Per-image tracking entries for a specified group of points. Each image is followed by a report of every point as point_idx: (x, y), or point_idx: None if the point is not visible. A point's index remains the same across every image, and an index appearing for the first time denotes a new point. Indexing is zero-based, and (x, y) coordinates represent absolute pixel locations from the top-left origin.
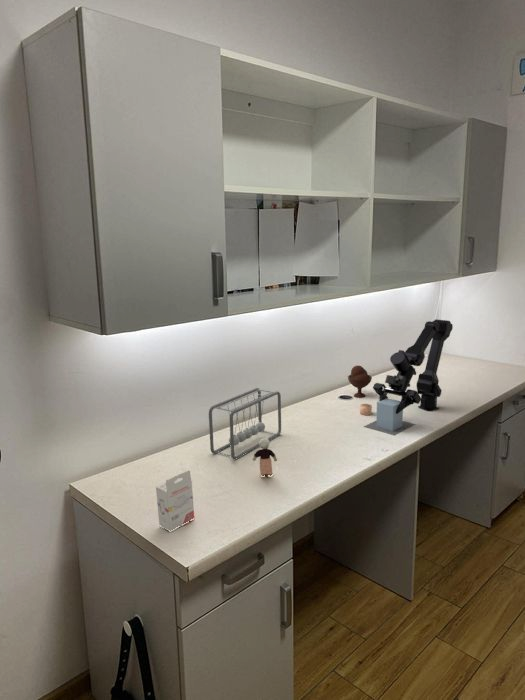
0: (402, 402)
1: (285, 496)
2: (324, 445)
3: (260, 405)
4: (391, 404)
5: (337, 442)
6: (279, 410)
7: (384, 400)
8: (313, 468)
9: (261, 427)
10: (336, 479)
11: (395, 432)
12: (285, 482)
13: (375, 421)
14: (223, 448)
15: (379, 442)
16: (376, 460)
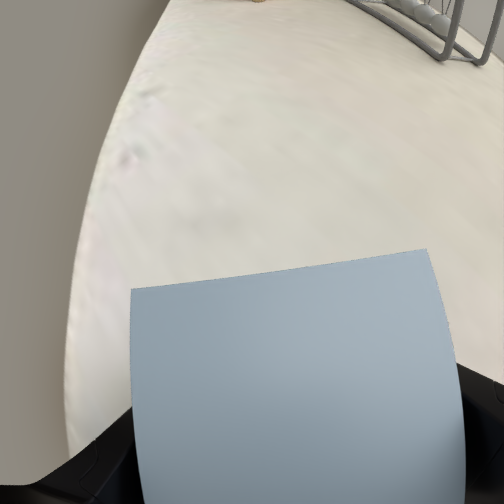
0: (71, 467)
1: (192, 3)
2: (313, 65)
3: (494, 16)
4: (202, 350)
5: (309, 91)
6: (454, 5)
7: (434, 424)
8: (223, 24)
9: (431, 18)
10: (159, 36)
11: None
12: (222, 4)
13: None
14: (395, 7)
15: (185, 186)
16: (124, 104)
